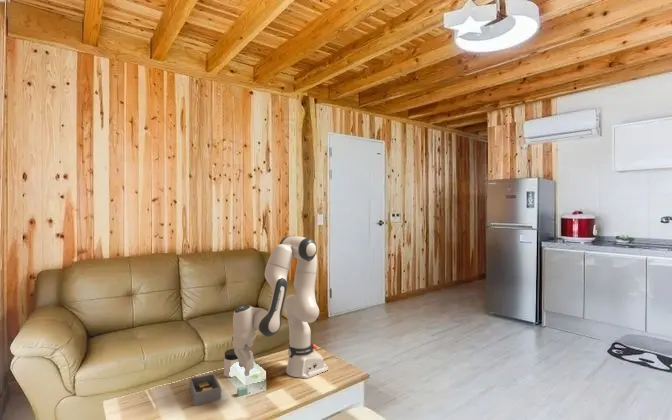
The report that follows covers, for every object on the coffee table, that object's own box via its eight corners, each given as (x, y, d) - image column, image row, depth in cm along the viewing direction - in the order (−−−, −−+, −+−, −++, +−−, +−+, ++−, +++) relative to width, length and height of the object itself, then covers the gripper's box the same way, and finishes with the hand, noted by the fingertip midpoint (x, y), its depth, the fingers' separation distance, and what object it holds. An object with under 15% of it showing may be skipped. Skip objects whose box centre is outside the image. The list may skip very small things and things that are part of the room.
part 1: (206, 387, 167) (206, 381, 167) (209, 391, 164) (209, 384, 164) (197, 390, 164) (197, 383, 164) (200, 394, 161) (200, 387, 161)
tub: (213, 385, 170) (214, 373, 170) (220, 401, 157) (220, 387, 157) (189, 391, 165) (189, 378, 165) (194, 407, 152) (194, 394, 152)
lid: (246, 380, 177) (246, 371, 177) (256, 395, 163) (256, 386, 163) (221, 385, 171) (221, 377, 171) (229, 402, 157) (229, 392, 157)
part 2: (212, 393, 162) (212, 387, 162) (211, 398, 158) (211, 391, 158) (202, 394, 161) (202, 388, 161) (201, 399, 157) (201, 393, 157)
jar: (226, 380, 175) (226, 356, 175) (221, 373, 182) (221, 350, 182) (243, 376, 180) (244, 352, 180) (238, 369, 187) (239, 347, 187)
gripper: (257, 348, 154) (257, 379, 155) (244, 332, 172) (244, 360, 173) (242, 351, 151) (243, 383, 152) (231, 335, 169) (231, 363, 170)
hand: (244, 370), depth 163 cm, fingers open, 8 cm apart
